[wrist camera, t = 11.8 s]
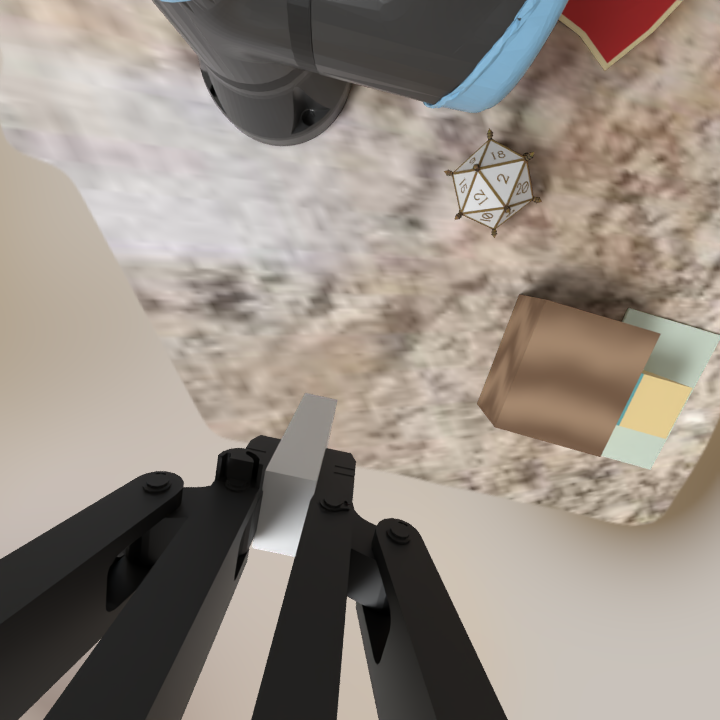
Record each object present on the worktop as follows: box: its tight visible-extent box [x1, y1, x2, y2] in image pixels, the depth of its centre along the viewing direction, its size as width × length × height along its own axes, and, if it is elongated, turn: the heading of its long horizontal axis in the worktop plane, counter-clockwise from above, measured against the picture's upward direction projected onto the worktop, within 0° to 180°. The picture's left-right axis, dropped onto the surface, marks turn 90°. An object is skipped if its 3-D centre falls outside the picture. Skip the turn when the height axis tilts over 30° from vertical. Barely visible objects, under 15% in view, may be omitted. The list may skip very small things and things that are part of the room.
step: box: [477, 295, 661, 457], centre depth 42 cm, size 14×12×7 cm
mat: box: [601, 308, 720, 470], centre depth 46 cm, size 18×11×1 cm, turn 164°
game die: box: [444, 128, 542, 238], centre depth 37 cm, size 9×8×10 cm
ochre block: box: [616, 370, 693, 439], centre depth 43 cm, size 6×6×6 cm
